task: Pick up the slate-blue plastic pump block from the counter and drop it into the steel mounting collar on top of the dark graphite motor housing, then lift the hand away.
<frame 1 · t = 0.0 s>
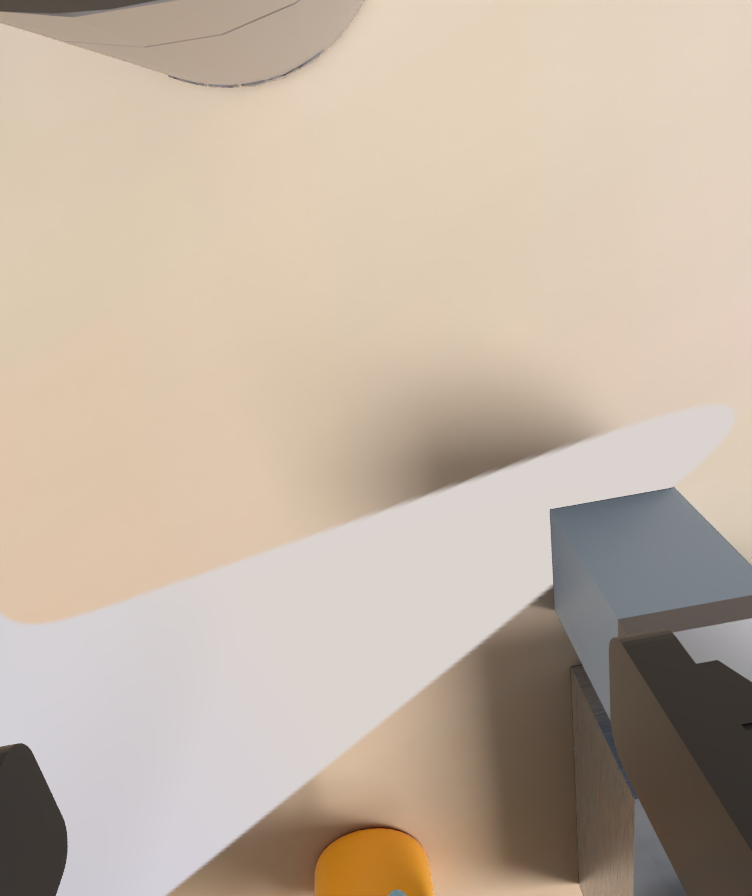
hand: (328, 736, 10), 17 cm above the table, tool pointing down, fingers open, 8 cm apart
cylinder: (370, 859, 37), on the table
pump: (612, 550, 30), on the table
motor: (690, 764, 36), on the table
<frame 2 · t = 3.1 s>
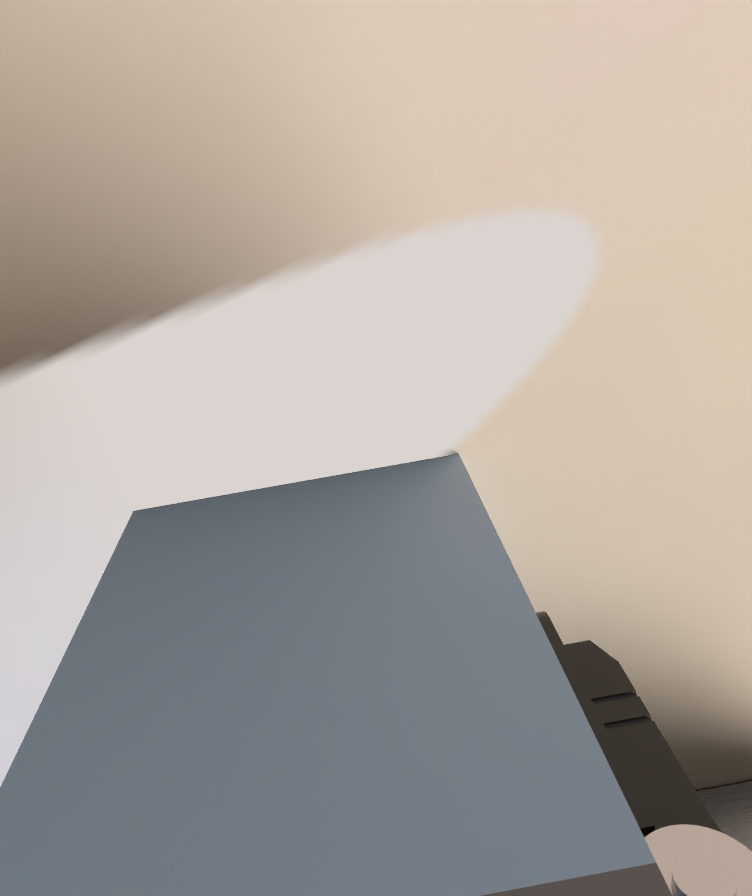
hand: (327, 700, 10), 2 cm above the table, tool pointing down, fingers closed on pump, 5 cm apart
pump: (326, 615, 12), on the table, touching gripper
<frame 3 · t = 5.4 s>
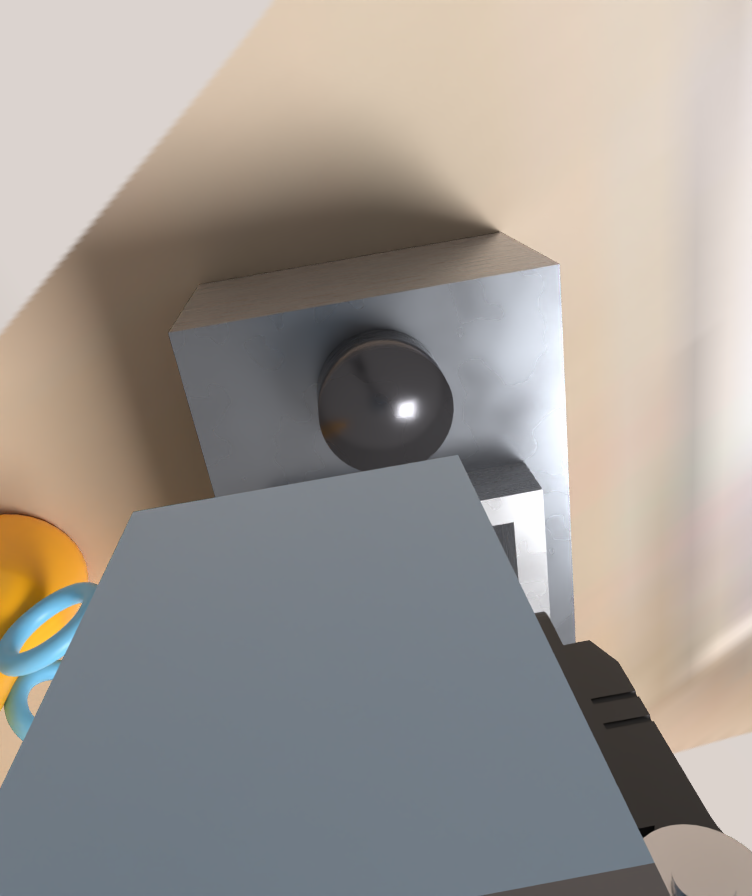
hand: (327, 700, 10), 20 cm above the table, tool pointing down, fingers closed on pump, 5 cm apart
cylinder: (22, 565, 32), on the table
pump: (325, 616, 12), point 18 cm above the table, touching gripper
motor: (381, 441, 31), on the table
when the fingers open (10 cm above the table, at t = 8.2 s): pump drops 1 cm, resting on motor.
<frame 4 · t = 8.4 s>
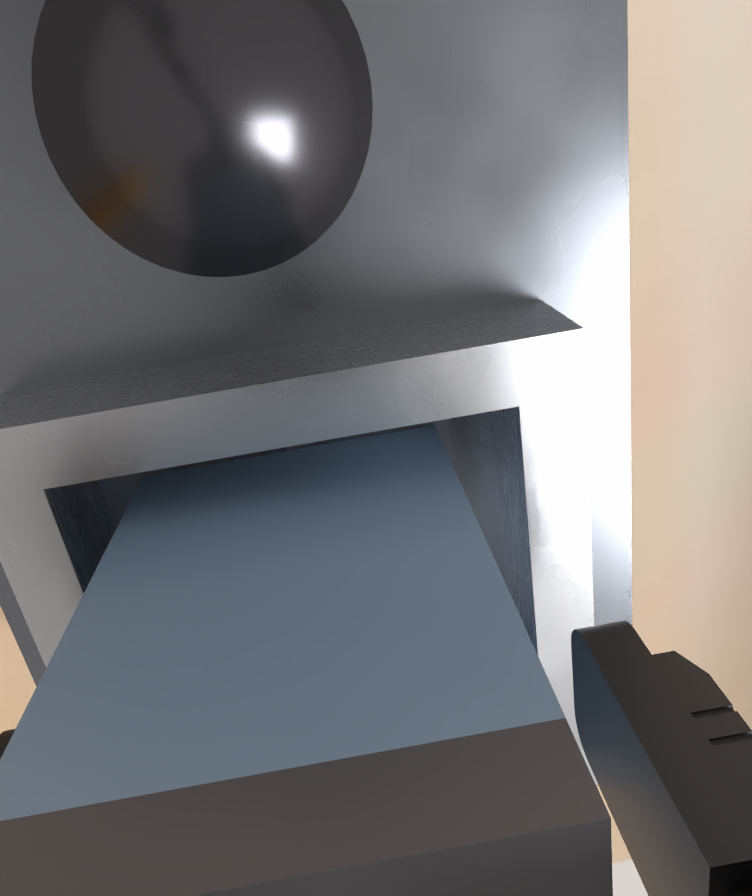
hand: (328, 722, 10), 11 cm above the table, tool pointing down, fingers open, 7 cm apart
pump: (316, 573, 14), point 7 cm above the table, touching motor
motor: (298, 331, 19), on the table
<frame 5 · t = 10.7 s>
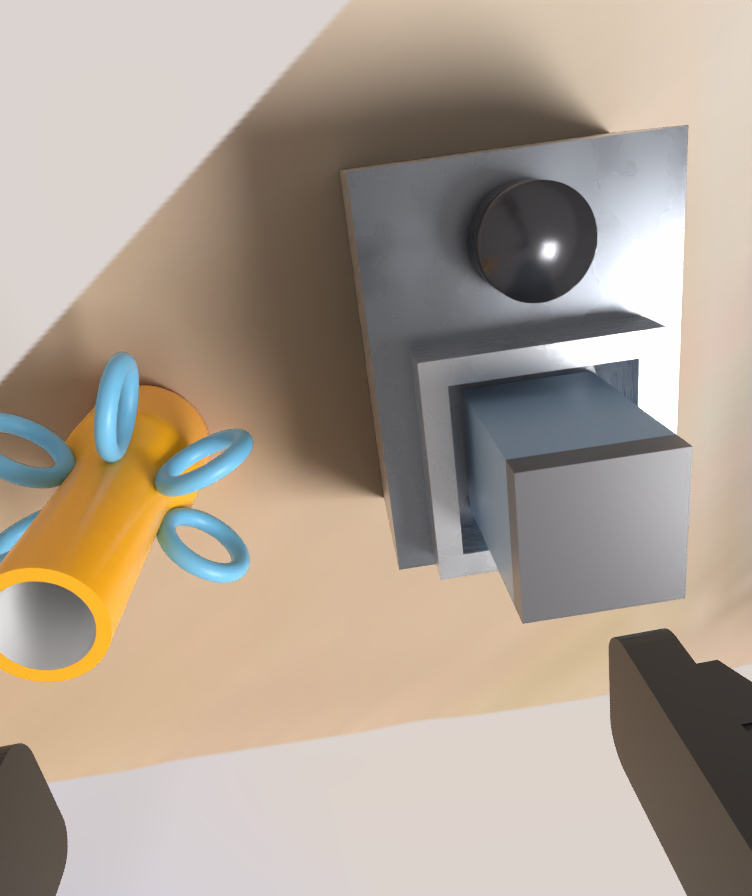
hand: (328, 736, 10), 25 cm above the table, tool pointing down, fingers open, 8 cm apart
cylinder: (149, 439, 35), on the table
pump: (528, 441, 29), point 7 cm above the table, touching motor
motor: (487, 330, 34), on the table
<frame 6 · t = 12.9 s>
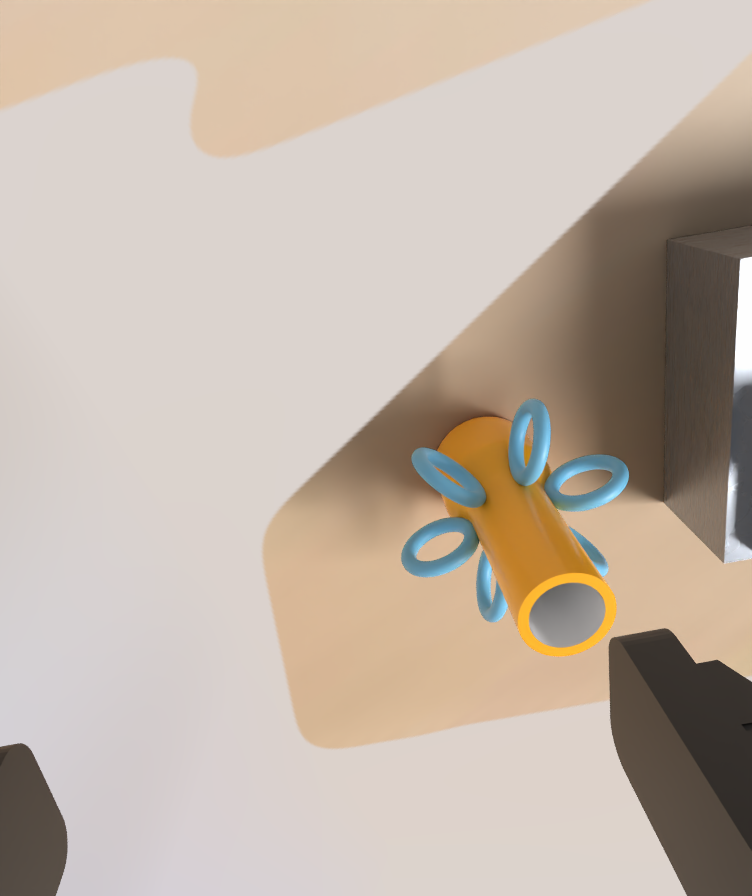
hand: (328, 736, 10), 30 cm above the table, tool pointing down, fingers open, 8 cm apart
cylinder: (481, 459, 42), on the table
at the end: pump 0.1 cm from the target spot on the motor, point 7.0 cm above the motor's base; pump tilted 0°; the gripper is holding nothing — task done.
